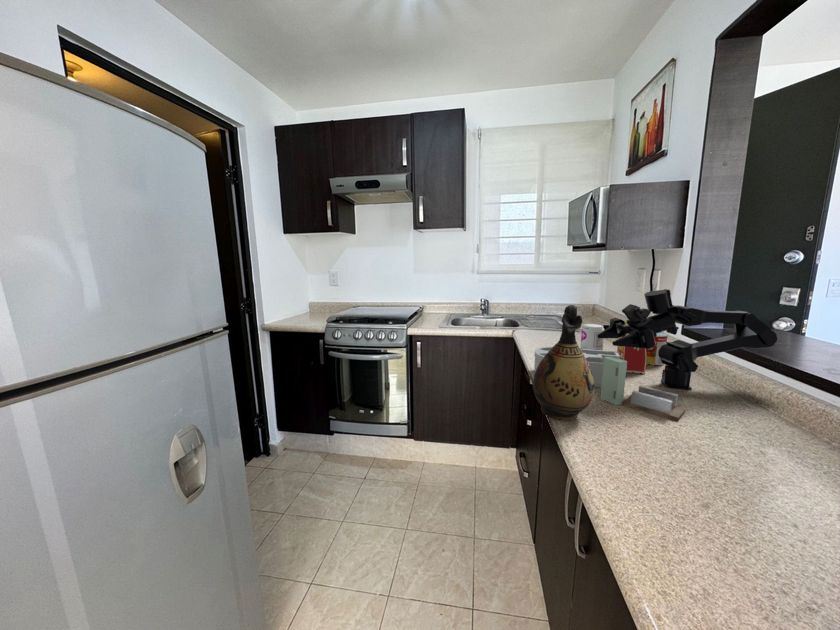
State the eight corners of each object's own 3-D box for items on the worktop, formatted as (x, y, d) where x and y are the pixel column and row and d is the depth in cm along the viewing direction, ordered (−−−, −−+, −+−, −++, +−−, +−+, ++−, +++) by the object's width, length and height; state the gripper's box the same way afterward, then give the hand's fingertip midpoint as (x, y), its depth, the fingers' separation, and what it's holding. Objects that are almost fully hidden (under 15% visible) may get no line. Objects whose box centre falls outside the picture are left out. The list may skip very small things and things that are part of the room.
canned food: (647, 358, 135) (650, 330, 133) (668, 364, 128) (672, 334, 126) (635, 361, 132) (638, 332, 130) (656, 367, 125) (660, 337, 123)
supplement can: (580, 362, 131) (583, 326, 129) (578, 356, 139) (581, 322, 136) (603, 364, 128) (606, 328, 126) (600, 358, 136) (603, 324, 133)
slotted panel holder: (622, 404, 94) (623, 390, 93) (631, 396, 99) (633, 383, 98) (677, 421, 84) (680, 405, 83) (685, 411, 89) (687, 396, 88)
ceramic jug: (596, 431, 80) (607, 312, 75) (530, 421, 85) (536, 309, 80) (587, 402, 96) (595, 302, 90) (532, 395, 101) (537, 300, 96)
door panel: (607, 396, 99) (611, 356, 97) (623, 403, 95) (627, 360, 92) (600, 398, 98) (603, 357, 96) (615, 405, 94) (619, 362, 91)
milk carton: (638, 366, 126) (644, 316, 123) (646, 374, 118) (652, 320, 114) (612, 364, 129) (617, 315, 126) (618, 371, 120) (623, 319, 117)
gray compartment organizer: (624, 391, 104) (627, 365, 102) (532, 380, 113) (534, 357, 112) (614, 374, 119) (616, 351, 117) (534, 366, 129) (535, 345, 127)
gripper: (629, 298, 112) (585, 312, 113) (668, 306, 93) (615, 323, 95) (636, 327, 114) (593, 341, 115) (676, 341, 95) (623, 357, 97)
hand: (604, 340), depth 105 cm, fingers open, 9 cm apart
